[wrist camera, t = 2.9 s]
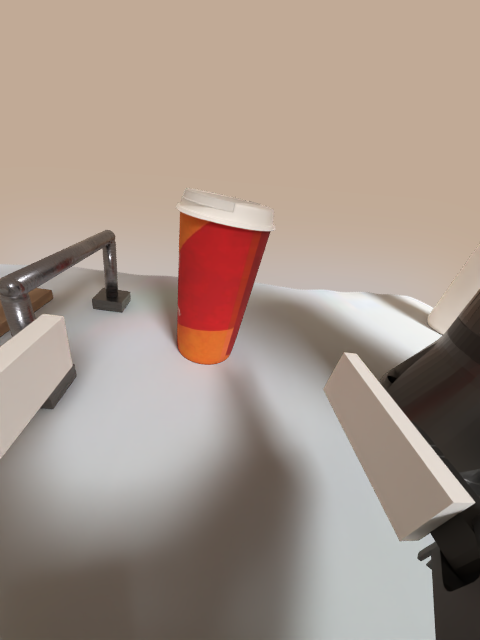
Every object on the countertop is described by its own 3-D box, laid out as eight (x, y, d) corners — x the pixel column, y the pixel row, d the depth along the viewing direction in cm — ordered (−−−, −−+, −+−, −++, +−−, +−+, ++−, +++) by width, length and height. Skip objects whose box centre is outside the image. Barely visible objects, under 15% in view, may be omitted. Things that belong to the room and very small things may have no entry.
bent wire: (130, 300, 29) (128, 230, 25) (53, 408, 15) (21, 293, 11) (104, 296, 28) (98, 224, 24) (0, 405, 15) (-54, 283, 11)
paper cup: (208, 320, 29) (229, 194, 22) (255, 353, 25) (298, 214, 18) (149, 339, 23) (153, 180, 17) (198, 386, 20) (230, 204, 13)
